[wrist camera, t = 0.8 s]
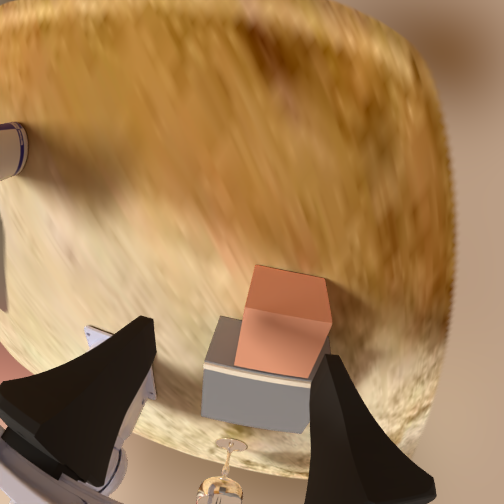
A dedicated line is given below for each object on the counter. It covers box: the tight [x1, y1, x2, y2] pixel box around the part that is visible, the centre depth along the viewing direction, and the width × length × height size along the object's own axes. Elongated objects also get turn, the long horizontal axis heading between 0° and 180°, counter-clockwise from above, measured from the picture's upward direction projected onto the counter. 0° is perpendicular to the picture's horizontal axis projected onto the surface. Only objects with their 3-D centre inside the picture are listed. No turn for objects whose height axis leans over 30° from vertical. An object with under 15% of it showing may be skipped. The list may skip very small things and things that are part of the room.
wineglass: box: [196, 438, 247, 504], centre depth 27 cm, size 6×6×12 cm
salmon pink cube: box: [234, 265, 333, 378], centre depth 19 cm, size 5×5×5 cm
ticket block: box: [201, 316, 331, 434], centre depth 22 cm, size 8×9×5 cm
